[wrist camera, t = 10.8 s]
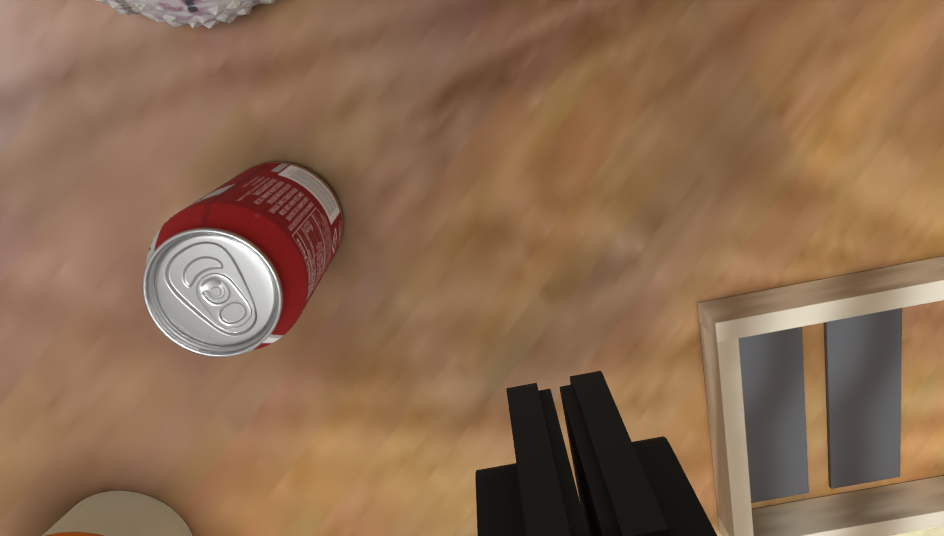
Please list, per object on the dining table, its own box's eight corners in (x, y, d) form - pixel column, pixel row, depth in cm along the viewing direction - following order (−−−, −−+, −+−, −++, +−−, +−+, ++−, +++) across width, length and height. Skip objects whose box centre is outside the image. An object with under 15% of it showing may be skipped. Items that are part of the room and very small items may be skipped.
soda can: (300, 136, 37) (228, 181, 25) (368, 238, 38) (330, 322, 27) (201, 198, 38) (89, 268, 26) (272, 294, 40) (197, 398, 28)
